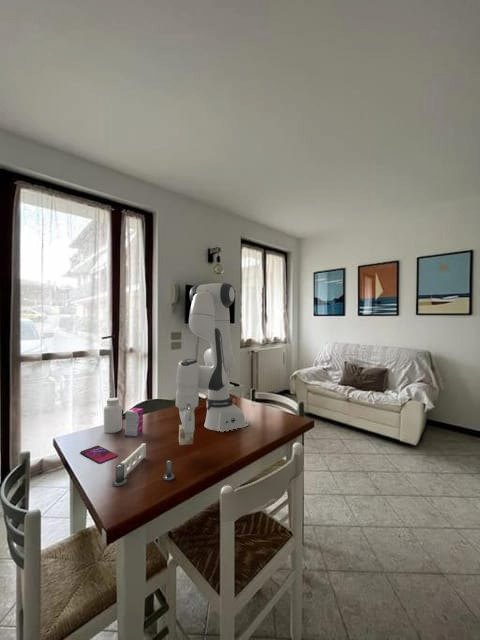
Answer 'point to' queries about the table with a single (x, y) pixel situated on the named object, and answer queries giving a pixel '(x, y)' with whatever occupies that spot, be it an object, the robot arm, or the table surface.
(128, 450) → the table surface
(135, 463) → the gate
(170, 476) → the post
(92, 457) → the smartphone
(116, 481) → the hinge post
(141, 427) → the supplement box
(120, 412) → the pill bottle
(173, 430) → the table surface
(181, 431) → the beech block
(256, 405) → the table surface
